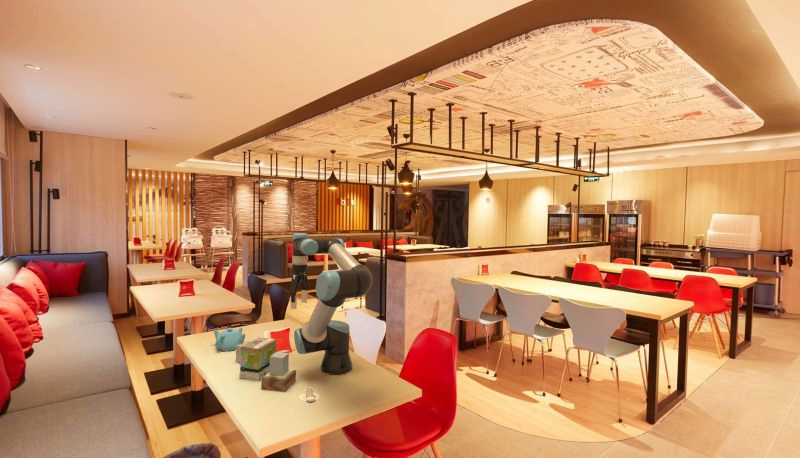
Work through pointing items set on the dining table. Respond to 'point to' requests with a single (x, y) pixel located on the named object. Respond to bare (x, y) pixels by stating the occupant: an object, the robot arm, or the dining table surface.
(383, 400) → the dining table surface
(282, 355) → the block
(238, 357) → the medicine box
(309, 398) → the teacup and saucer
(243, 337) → the teapot
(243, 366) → the tea box
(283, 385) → the plinth
